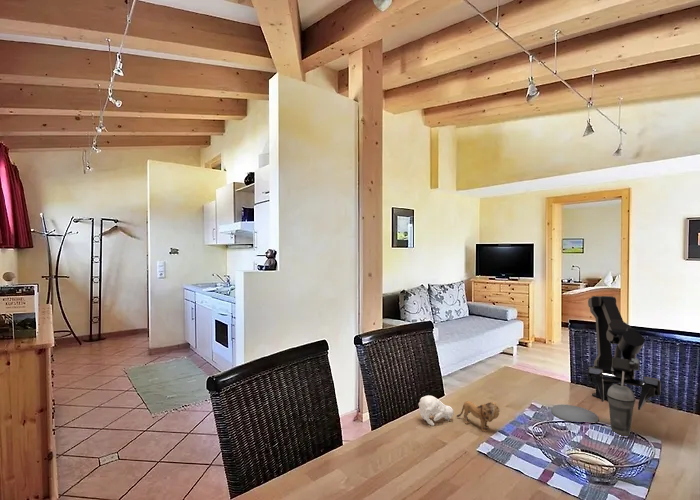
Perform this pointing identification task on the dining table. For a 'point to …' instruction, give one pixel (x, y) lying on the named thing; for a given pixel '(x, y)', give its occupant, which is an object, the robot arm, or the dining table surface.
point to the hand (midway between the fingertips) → (620, 405)
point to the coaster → (573, 413)
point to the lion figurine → (481, 412)
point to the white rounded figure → (434, 409)
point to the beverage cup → (621, 407)
